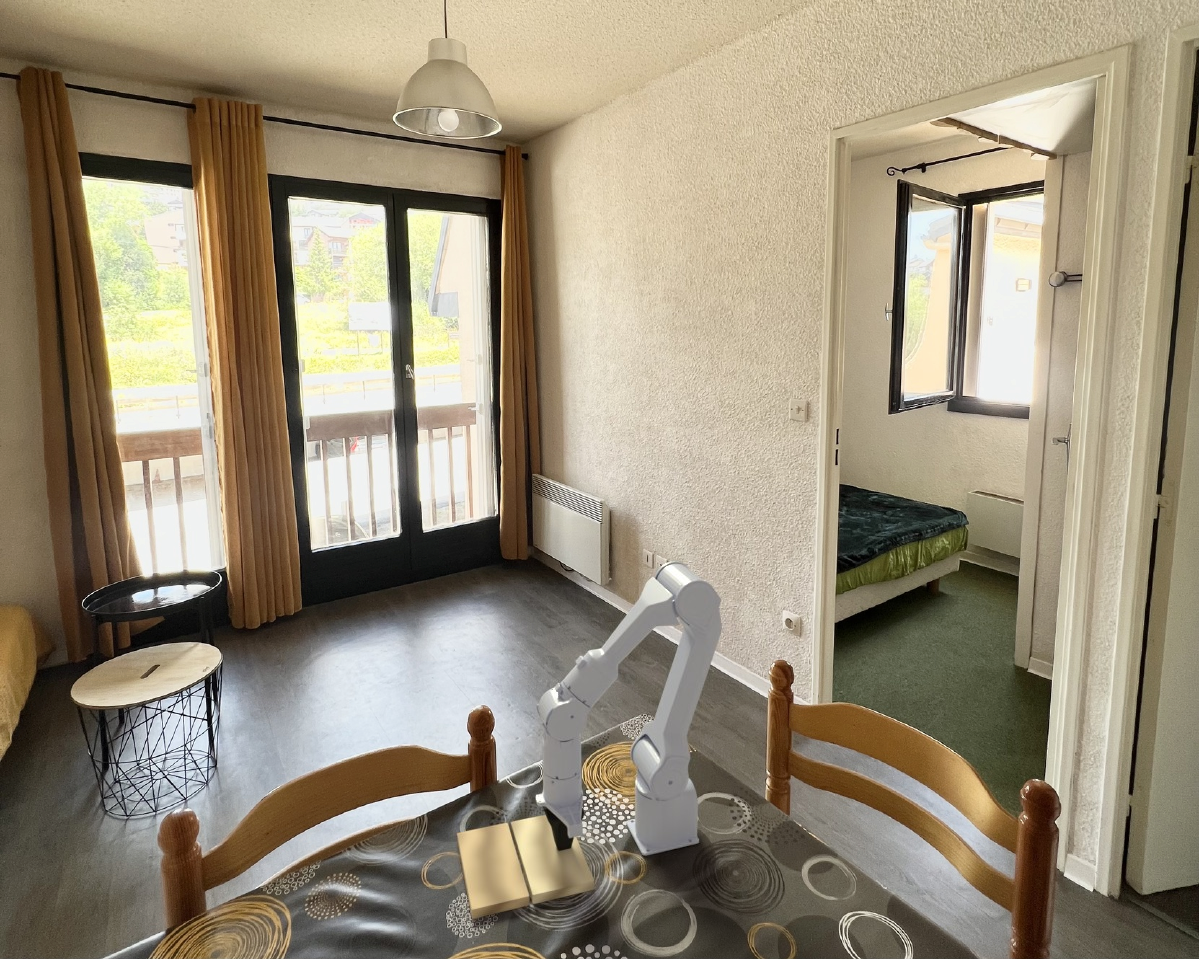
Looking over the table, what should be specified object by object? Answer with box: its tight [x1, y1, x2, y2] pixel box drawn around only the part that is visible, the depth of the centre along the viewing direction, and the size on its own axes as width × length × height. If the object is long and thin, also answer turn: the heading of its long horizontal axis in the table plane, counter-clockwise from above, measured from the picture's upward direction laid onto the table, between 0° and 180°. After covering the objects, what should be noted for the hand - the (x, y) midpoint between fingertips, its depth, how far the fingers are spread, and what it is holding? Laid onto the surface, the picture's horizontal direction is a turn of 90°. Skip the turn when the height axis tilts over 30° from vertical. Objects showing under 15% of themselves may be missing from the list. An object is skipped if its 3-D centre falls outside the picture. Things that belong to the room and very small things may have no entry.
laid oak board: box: [456, 822, 530, 920], centre depth 111 cm, size 8×16×2 cm, turn 18°
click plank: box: [510, 814, 595, 905], centre depth 113 cm, size 9×16×2 cm, turn 18°
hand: (563, 847), depth 114 cm, fingers closed, pressing on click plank
